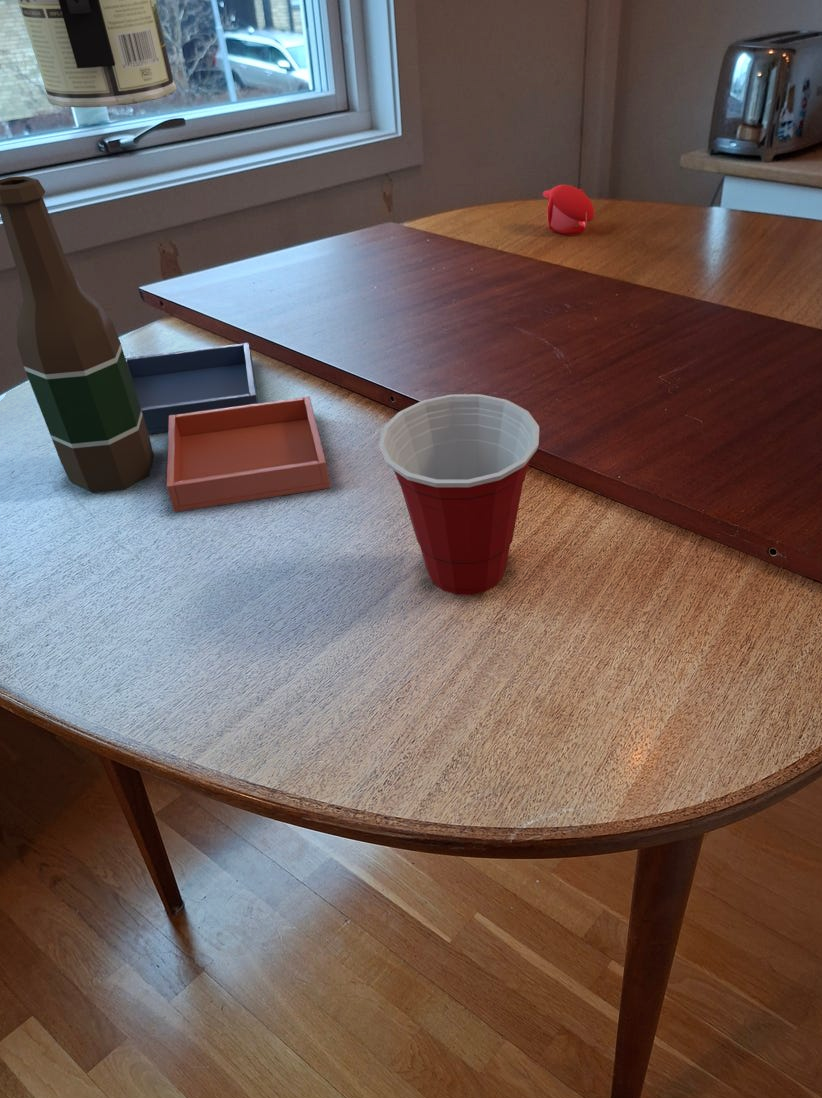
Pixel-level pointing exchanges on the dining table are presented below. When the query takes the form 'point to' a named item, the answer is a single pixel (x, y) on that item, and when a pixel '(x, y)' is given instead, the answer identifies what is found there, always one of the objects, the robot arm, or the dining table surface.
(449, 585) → the plastic cup
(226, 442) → the terracotta tray
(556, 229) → the cap
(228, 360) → the slate tray
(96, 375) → the beer bottle
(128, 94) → the coffee can
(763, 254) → the dining table surface
